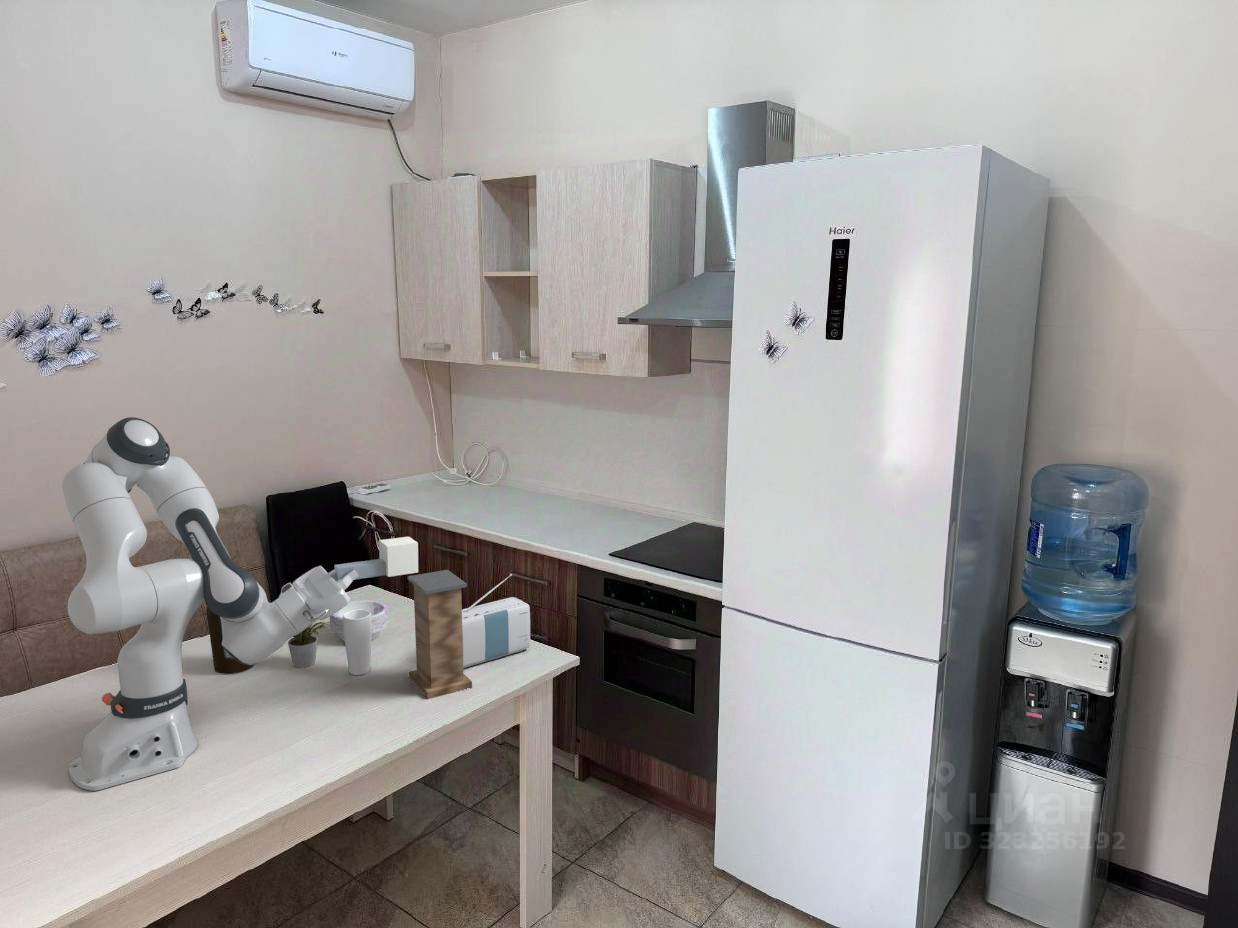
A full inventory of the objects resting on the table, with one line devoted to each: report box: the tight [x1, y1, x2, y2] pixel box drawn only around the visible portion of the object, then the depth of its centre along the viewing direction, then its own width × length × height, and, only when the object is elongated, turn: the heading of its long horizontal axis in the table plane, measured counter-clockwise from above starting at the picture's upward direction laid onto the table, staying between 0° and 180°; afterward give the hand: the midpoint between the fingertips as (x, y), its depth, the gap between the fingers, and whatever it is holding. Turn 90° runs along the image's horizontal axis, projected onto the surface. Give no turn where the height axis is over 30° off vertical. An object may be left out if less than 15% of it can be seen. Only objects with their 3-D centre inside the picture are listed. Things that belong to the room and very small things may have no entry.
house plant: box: [287, 614, 334, 669], centre depth 211 cm, size 14×14×16 cm
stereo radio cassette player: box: [462, 573, 531, 670], centre depth 217 cm, size 21×8×20 cm, turn 129°
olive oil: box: [205, 606, 255, 675], centre depth 209 cm, size 11×11×25 cm
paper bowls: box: [329, 599, 389, 642], centre depth 231 cm, size 15×15×8 cm
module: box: [334, 536, 419, 582], centre depth 190 cm, size 18×6×7 cm, turn 123°
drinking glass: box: [343, 610, 373, 676], centre depth 208 cm, size 7×7×15 cm
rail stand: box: [407, 569, 473, 700], centre depth 201 cm, size 11×13×26 cm
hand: (353, 568), depth 187 cm, fingers closed on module, 3 cm apart
